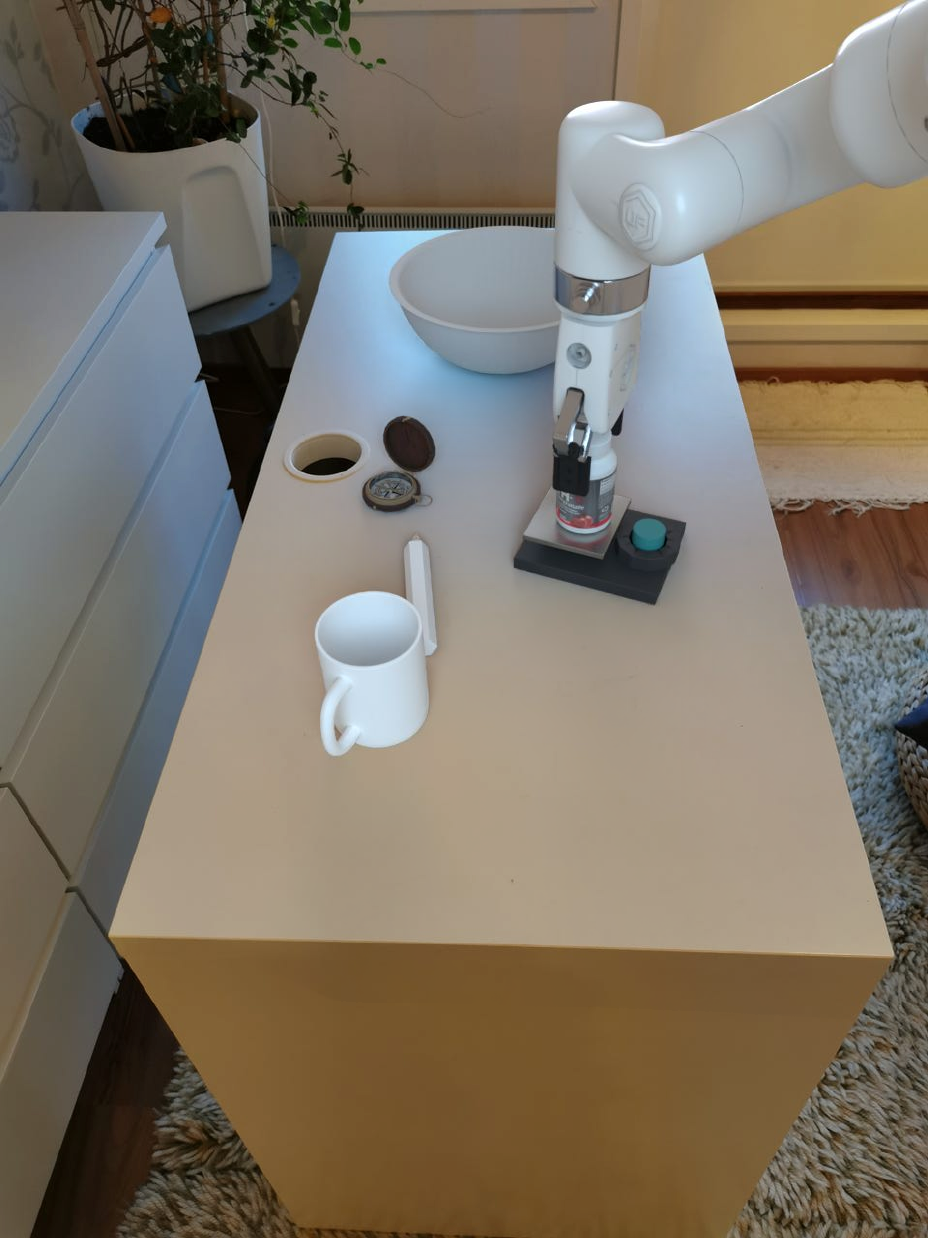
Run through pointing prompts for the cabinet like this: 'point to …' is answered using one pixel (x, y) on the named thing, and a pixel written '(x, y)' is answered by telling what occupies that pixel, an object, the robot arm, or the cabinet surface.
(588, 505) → the pill bottle
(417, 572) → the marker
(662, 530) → the button
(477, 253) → the bowl
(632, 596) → the scale
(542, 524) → the pan
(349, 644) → the cup
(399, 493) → the compass
